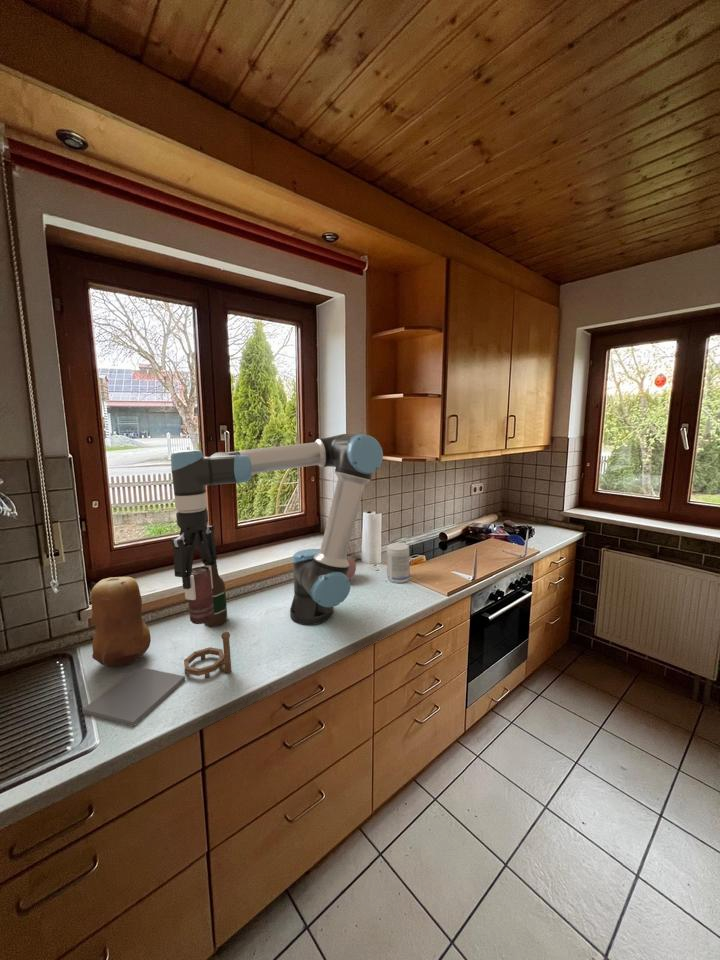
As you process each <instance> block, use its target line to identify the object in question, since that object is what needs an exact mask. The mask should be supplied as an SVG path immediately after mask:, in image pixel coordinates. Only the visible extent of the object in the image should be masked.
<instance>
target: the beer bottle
mask: <svg viewBox="0 0 720 960" xmlns="http://www.w3.org/2000/svg"><path fill="white" fill-rule="evenodd" d="M214 561H215V565H212V582H213V588H212V595H213V606H214V617H213V619H212V620H211V621H209V622H207V623H203V625H205V626H206V627H209V628H214V627H219V626H221V625H223V624H226V623H227V619H228V607H227V594H226V585H225V582H224V580H223V578H222V577H221V576H220V574H219V571H218V563H217V559H216V560H214Z"/></svg>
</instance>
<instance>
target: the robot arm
mask: <svg viewBox="0 0 720 960" xmlns="http://www.w3.org/2000/svg"><path fill="white" fill-rule="evenodd" d="M383 457H384V452H383V448H382V446H381V444H380V442H379V441H378V440H377V439H376V438H375V437H373V436H371V435H368V434H363V433H343V434H337V435H333V436H329V437H323V438H317V439H316V440H315V441H314V442H307V443H306V442H305V443H298V444H297V443H296V444H295V443H294V444H288V445H278V446H268V447H260V448H254V449H253V448H251V449H244V450H243V449H242V450H237V451H233V450H232V451H227V452H226V451H225V452H224V451H218V452H215V453H213V454H212V455H210V456H204V454H203V451H202V450H200V449H182V450H181V449H180V450H176V451H175V450H174V451H173V452H172V453H171V454H170V464H171V465H170V466H171V468H170V469H171V478H172V485H173V486H172V487H173V495H174V504H175V510H176V511H177V512H176V513H175V514H176V517H175V518H176V525H177V527H179V529H180V530H179V531H180V532H179V536H178V537H176V538H172V539H171V540H170V543H171V545H172V548H173V568H174V569H173V570H174V577H177V578H181V579H182V580H181V582H182V589H184V599H185V600H187V601H188V600H195V599H196V592H195V582H194V575H191V572H192V568H193V564H194V557H195V556H194V555H195V550H196V549H197V550H198V552H199V553H198V554H199V556H200V559H201V562H202V564H201V565H200V567H208V568H209V570H210V573H211V584H212V588H213V582H212V565H215V561H214V560H216V561H217V559H218V555H217V548H216V541H215V526H214V525H208V523H209V513H208V512H209V511H208V509H207V507H208V501H207V492H206V491H207V490H206V487H207V486H214V485H226V484H227V485H229V484H241V483H245V482H250V481H252V480H251V479H252V477H253V474H254V475H255V474H261V473H268V472H274V471H275V472H276V471H283V470H289V469H298V468H304V467H305V468H306V467H311V466H318V467H319V468H326V467H333V468H334V473H335V475H336V476H337V481H336V486H335V490H334V494H333V497H332V501H331V506H330V510H329V513H328V517H327V521H326V525H325V529H324V534H323V537H322V542H321V546H320V548H310V549H309V548H307V549H302V550H299V551H297V552H294V554H292V555H293V556H292V572H293V575H292V576H293V593H294V594H293V598H292V602H291V606H290V609H289V615H290V619H291V621H293V622H294V623H297V624H299V625H305V626H306V625H307V626H309V625H310V626H311V625H318V624H319V625H320V624H322V623H325V622H327V621H328V620H330V619H331V618H332V617H333V615H334V607H336V606H339V605H340V604H341V603H343V602H344V601H345V600H346V599H347V598H348V596H349V595H350V591H351V582H350V579H349V578H348V577H347V573H348V569H349V563H348V561H347V560H348V559H347V556H348V552H349V548H350V543H351V540H352V536H353V532H354V527H355V525H356V521H357V516H358V512H359V509H360V505H361V500H362V496H363V492H364V488H365V485H366V484H368V483H370V482H371V480H372V476H373V474H374V473H375V472H376V471H377V470H379V468H380V467H381V465H382V463H383V460H384V459H383Z"/></svg>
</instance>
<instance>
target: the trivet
mask: <svg viewBox="0 0 720 960" xmlns="http://www.w3.org/2000/svg"><path fill="white" fill-rule="evenodd" d="M185 681H186V677H185V675H181V674H175V673H171V672H165V671H161V670H155V669H150V668H146V667H141V666H139V667H136V669H135V670H133V671H132V672H130V673H128V675H126V676H125V677H123V678H122V679H121V680H120V681H118V682H117V683H115V684H114V685H113V686H111V687H110V688H108V689H107V690H106V691H105V692H103V693H102V694H101V695H99V696H98V697H97V698H95V699H94V700H92V701H91V702H90V703H88V704H87V705H86V706H84V707H83V708H81V709H82V714H83V715H87V716H90V717H94V718H99V719H102V720H106V721H109V722H114V723H117V722H118V724H121V723H123V724H122V725H125V724H128V725H127V726H129V725H132V726H131V727H133V726H134V725H135V724H136V723H137V722H138V723H140V722H141V721H142V720H143V719H144V718H145V717H147V716H148V714H150V713H149V712H150V711H151V710H152V709H153V708H154V707H155V708H156V707H157V706H159V704H161V703H162V702H163V701H164V700H165V699H167V697H168V696H169V695H171V694H172V693H173V692H174V691H175V690H176V689H177V688H179V686H181V685H182V684H183V683H184V682H185ZM160 702H161V703H160ZM155 708H154V709H155ZM154 709H153V710H154ZM153 710H152V711H153ZM152 711H151V712H152ZM144 716H145V717H144ZM143 717H144V718H143ZM142 718H143V719H142ZM141 719H142V720H141ZM140 720H141V721H140ZM139 721H140V722H139ZM138 723H137V724H138ZM137 724H136V725H137ZM136 725H135V726H136ZM135 726H134V727H135Z"/></svg>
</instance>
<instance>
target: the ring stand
mask: <svg viewBox="0 0 720 960" xmlns="http://www.w3.org/2000/svg"><path fill="white" fill-rule="evenodd" d="M220 638H221V639H222V647H223V648H222V649H221V648H216V647H205V648H203V649H199V650H195V651H193V652H192V653H191V654H190V655H188V656H187V657H186V658H184V660H183V663H184V674H185V675H191V676H196V677H200V676H203V675H204V678H205V679H207V678H209V677H211V676H210V675H211V674H210V673H213V672H216V671H217V670H219V671H224V673H225V674H226V675H229V674H231V673H232V658H231V647H230V638H231V633H230V632H229V631H223V632H222V633H221V637H220ZM207 655H213V656H218V659H217V660H216V661H215V662H214V663H213V664H210V665H207V666H204V667H200V668H199V667H193V666H190V664H191V663H192V662H194V661H195V659H197V658H200V660H201V661H204V660H206V656H207Z"/></svg>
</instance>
